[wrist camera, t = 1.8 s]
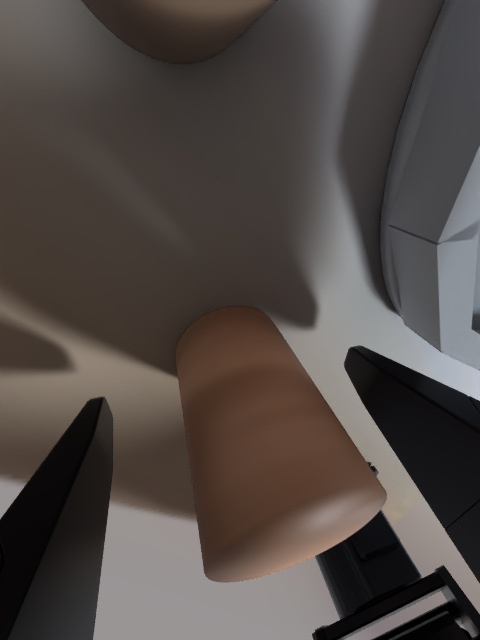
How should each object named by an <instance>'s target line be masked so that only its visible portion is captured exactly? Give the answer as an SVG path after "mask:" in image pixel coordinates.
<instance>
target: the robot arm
mask: <svg viewBox="0 0 480 640" xmlns="http://www.w3.org/2000/svg"><path fill="white" fill-rule="evenodd" d="M344 367H345V370H346V372H347V374H348V376H349V378H350V380H351V382H352V383H353V385H354V387H355V389H356V391H357V393H358V395H359V397H360V399H361V401H362V402H363V404H364V406H365V408H366V409H367V411H368V412H369V414H370V415H371V417H372V418H373V420H374V422H375V423H376V425H377V426H378V428H379V429H380V431H381V432H382V434H383V435H384V437H385V438H386V440H387V441H388V443H389V445H390V446H391V448H392V449H393V451H394V452H395V454H396V455H397V457H398V458H399V460H400V461H401V463H402V465H403V466H404V468H405V469H406V471H407V472H408V474H409V475H410V477H411V478H412V480H413V481H414V483H415V484H416V486H417V488H418V489H419V491H420V492H421V494H422V495H423V497H424V498H425V500H426V501H427V503H428V504H429V506H430V508H431V509H432V511H433V512H434V514H435V515H436V517H437V518H438V520H439V521H440V523H441V524H442V526H443V528H445V531H446V532H447V534H448V535H449V537H450V539H451V540H452V542H453V543H454V545H455V546H456V548H457V549H458V551H459V552H460V554H461V555H462V557H463V558H464V560H465V562H466V563H467V564H468V566H469V568H470V569H471V571H472V572H473V574H474V575H475V577H476V578H477V580H478V581H479V583H480V401H479V400H476V399H474V398H472V397H470V396H467V395H466V394H464V393H461V392H459V391H457V390H455V389H453V388H451V387H449V386H446V385H444V384H442V383H440V382H438V381H436V380H434V379H431V378H429V377H427V376H425V375H423V374H421V373H419V372H416V371H414V370H412V369H410V368H408V367H406V366H404V365H401V364H399V363H397V362H395V361H393V360H391V359H389V358H387V357H384V356H382V355H380V354H378V353H376V352H374V351H372V350H369V349H367V348H365V347H363V346H354V347H350V348H349V350H348V353H347V356H346V359H345V362H344ZM370 468H371V470H372V471H373V473H374V474H375V476H377V474H378V471H377V469H376V468H375V466H371V467H370ZM112 473H113V416H112V412H111V410H110V407H109V405H108V403H107V400H106V398H105V397H98V398H93V399H90V400H89V401H88V402H87V403H86V404H85V406H84V407H83V408H82V410H81V411H80V412H79V414H78V415H77V417H76V418H75V419H74V421H73V422H72V423H71V425H70V426H69V427H68V429H67V430H66V431H65V433H64V434H63V435H62V437H61V438H60V439H59V441H58V442H57V444H56V445H55V446H54V448H53V449H52V450H51V452H50V453H49V454H48V456H47V457H46V458H45V460H44V461H43V462H42V464H41V465H40V466H39V468H38V469H37V471H36V472H35V473H34V475H33V476H32V477H31V479H30V480H29V481H28V483H27V484H26V485H25V487H24V488H23V489H22V491H21V492H20V493H19V495H18V496H17V498H16V499H15V500H14V502H13V503H12V504H11V506H10V507H9V508H8V510H7V511H6V513H5V514H4V515H3V516H2V518H1V519H0V640H93V634H94V626H95V618H96V609H97V601H98V592H99V584H100V576H101V567H102V559H103V550H104V542H105V533H106V525H107V517H108V508H109V500H110V491H111V483H112ZM315 557H316V560H317V562H318V565H319V567H320V570H321V572H322V575H323V577H324V580H325V582H326V585H327V587H328V590H329V592H330V595H331V597H332V599H333V602H334V605H335V607H336V610H337V612H338V615H339V618H340V620H339V621H337V622H335V623H333V624H331V625H329V626H322V627H320V628H318V629H316V630H315V632H314V633H313V634H312V636H313V639H314V640H344V639H346V638H348V637H350V636H352V635H354V634H356V633H358V632H360V631H362V630H364V629H366V628H368V627H370V626H372V625H374V624H376V623H378V622H380V621H382V620H384V619H386V618H388V617H390V616H392V615H394V614H396V613H398V612H400V611H402V610H404V609H406V608H407V607H410V606H412V605H414V604H416V603H418V602H420V601H422V600H424V599H426V598H428V597H430V596H432V595H434V594H436V593H438V592H440V591H442V593H443V594H444V596H445V598H446V599H447V601H448V602H446V603H444V604H442V605H440V606H438V607H436V608H434V609H432V610H430V611H428V612H426V613H424V614H422V615H420V616H418V617H416V618H414V619H412V620H410V621H408V622H406V623H404V624H402V625H400V626H398V627H396V628H394V629H392V630H390V631H388V632H386V633H384V634H382V635H380V636H378V637H376V638H374V639H372V640H480V614H479V613H478V611H477V610H476V609H475V607H474V606H473V605H472V603H471V602H470V601H469V599H468V598H467V597H466V595H465V594H464V592H463V591H462V590H461V588H460V587H459V586H458V584H457V583H456V581H455V580H454V579H453V578H452V576H451V574H450V573H449V572H448V570H447V569H446V568H445V566H444V565H443V566H441V567H439V568H437V569H435V572H434V573H432V574H430V575H428V576H426V577H424V578H422V577H421V574H420V573H419V571H418V569H417V568H416V566H415V564H414V563H413V561H412V560H411V558H410V557H409V555H408V554H407V552H406V550H405V548H404V547H403V545H402V543H401V542H400V539H399V538H398V536H397V534H396V533H395V531H394V530H393V528H392V526H391V525H390V523H389V521H388V520H387V518H386V517H385V515H384V513H383V512H382V510H380V511H379V512H378V513H377V514H376V515H375V516H374V517H373V518H372V519H371V520H370V521H369V522H368V523H367V524H366V525H364V526H363V527H362V528H361V529H359V530H358V531H357V532H355V533H354V534H352V535H351V536H349V537H348V538H346V539H345V540H343V541H341V542H340V543H338V544H337V545H335V546H333V547H331V548H329V549H328V550H326V551H324V552H322V553H320V554H318V555H316V556H315ZM461 624H463V626H464V627H465V628H466V630H467V631H466V630H465V629H463V628H460V626H459V625H461Z"/></svg>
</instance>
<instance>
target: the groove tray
mask: <svg viewBox="0 0 480 640" xmlns="http://www.w3.org/2000/svg"><path fill="white" fill-rule="evenodd" d="M380 254H381V262H382V270H383V277H384V281H385V284H386V288H387V291H388V294H389V297H390V299H391V301H392V303H393V305H394V307H395V308H396V310H397V312H398V314H399V315H400V316H401V317H402V318H403V321H404V324H405V325H406V326H407V327H408V328H410V329H411V330H412V331H414V332H415V333H416V334H418V335H419V336H420V337H422V338H423V339H424V340H426V341H427V342H428V343H430V344H431V345H432V346H434V347H435V348H436V349H438V350H439V351H440V352H442V353H444V354H446V355H448V356H450V357H452V358H454V359H456V360H458V361H460V362H463V363H465V364H467V365H469V366H471V367H473V368H475V369H477V370H479V371H480V0H445V1H444V4H443V6H442V9H441V11H440V13H439V16H438V18H437V21H436V23H435V26H434V28H433V31H432V33H431V36H430V38H429V40H428V43H427V45H426V48H425V50H424V53H423V55H422V58H421V60H420V63H419V65H418V67H417V70H416V73H415V76H414V79H413V82H412V86H411V89H410V92H409V95H408V98H407V101H406V104H405V107H404V110H403V113H402V116H401V119H400V123H399V126H398V129H397V133H396V138H395V142H394V146H393V150H392V155H391V159H390V163H389V167H388V172H387V176H386V182H385V190H384V197H383V204H382V212H381V229H380Z"/></svg>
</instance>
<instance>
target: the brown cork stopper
mask: <svg viewBox="0 0 480 640" xmlns="http://www.w3.org/2000/svg"><path fill="white" fill-rule="evenodd" d="M175 357H176V366H177V374H178V381H179V389H180V396H181V403H182V411H183V418H184V426H185V433H186V440H187V448H188V455H189V463H190V470H191V477H192V485H193V492H194V500H195V507H196V514H197V522H198V529H199V537H200V544H201V550H202V551H201V552H202V559H203V566H204V573H205V575H206V577H207V578H208V579H210V580H212V581H216V582H238V581H244V580H249V579H254V578H258V577H261V576H265V575H269V574H271V573H275V572H278V571H280V570H283V569H286V568H289V567H291V566H293V565H296V564H299V563H301V562H303V561H305V560H308V559H310V558H312V557H314V556H316V555H318V554H320V553H322V552H324V551H326V550H328V549H329V548H331V547H333V546H335V545H337V544H338V543H340V542H341V541H343V540H345V539H346V538H348V537H349V536H351V535H352V534H354V533H355V532H357V531H358V530H359V529H361V528H362V527H363V526H364V525H366V524H367V523H368V522H369V521H370V520H371V519H372V518H373V517H374V516H375V515H376V514H377V513H378V512H379V511H380V510H381V508H382V507H383V505H384V504H385V501H386V498H387V494H386V491H385V489H384V488H383V486H382V485H381V483H380V482H379V480H378V479H377V477H376V476H375V474H374V473H373V471H372V470H371V468H370V467H369V465H368V464H367V462H366V461H365V459H364V458H363V456H362V455H361V453H360V452H359V450H358V449H357V447H356V446H355V444H354V443H353V441H352V440H351V438H350V437H349V435H348V434H347V432H346V431H345V429H344V428H343V426H342V425H341V423H340V422H339V420H338V419H337V417H336V416H335V414H334V412H333V411H332V409H331V408H330V406H329V405H328V403H327V402H326V400H325V399H324V397H323V396H322V394H321V393H320V391H319V390H318V388H317V387H316V385H315V384H314V382H313V381H312V379H311V378H310V376H309V375H308V373H307V372H306V370H305V369H304V367H303V366H302V364H301V363H300V361H299V360H298V358H297V357H296V355H295V354H294V352H293V351H292V349H291V348H290V346H289V345H288V343H287V342H286V340H285V339H284V337H283V336H282V334H281V333H280V331H279V330H278V328H277V327H276V325H275V324H274V322H273V321H272V320H271V319H270V318H269V317H268V316H267V315H266V314H264V313H263V312H261V311H259V310H257V309H254V308H250V307H244V306H232V307H225V308H220V309H217V310H214V311H212V312H209V313H207V314H205V315H204V316H202V317H200V318H199V319H197V320H196V321H195V322H193V323H192V324H191V325H190V326H189V327H188V328H187V329H186V331H185V332H184V333H183V335H182V336H181V338H180V340H179V342H178V344H177V348H176V355H175Z"/></svg>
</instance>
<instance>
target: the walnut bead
mask: <svg viewBox="0 0 480 640" xmlns="http://www.w3.org/2000/svg"><path fill="white" fill-rule="evenodd" d="M83 1H84V3H85V4H86V5H87V6H88V8H89V9H90V10H91V11H92V13H93V14H94V15H95V16H96V17H97V18H98V19H99V20H100V21H101V22H102V23H103V24H104V25H105V26H106V27H107V28H108V29H109V30H110V31H111V32H112V33H114V34H115V35H116V36H117V37H118V38H119V39H121V40H122V41H123V42H125V43H126V44H128V45H129V46H131V47H132V48H134V49H135V50H137V51H139V52H141V53H143V54H145V55H147V56H149V57H151V58H155V59H158V60H161V61H164V62H170V63H176V64H187V63H195V62H200V61H204V60H206V59H209V58H211V57H214V56H215V55H217V54H219V53H220V52H222V51H223V50H225V49H226V48H227V47H228V46H230V45H231V44H232V43H233V42H234V41H235V40H236V39H237V38H238V37H239V36H240V35H242V34H243V33H244V32H245V31H246V30H247V29H248V28H249V27H250V26H251V25H252V24H253V23H254V22H255V21H256V20H257V19H258V18H259V17H260V16H261V15H262V14H263V13H265V12H266V11H267V10H268V9H269V8H270V7H271V6H272V5H273V4H274V3H275V2H276V1H277V0H83Z"/></svg>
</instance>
